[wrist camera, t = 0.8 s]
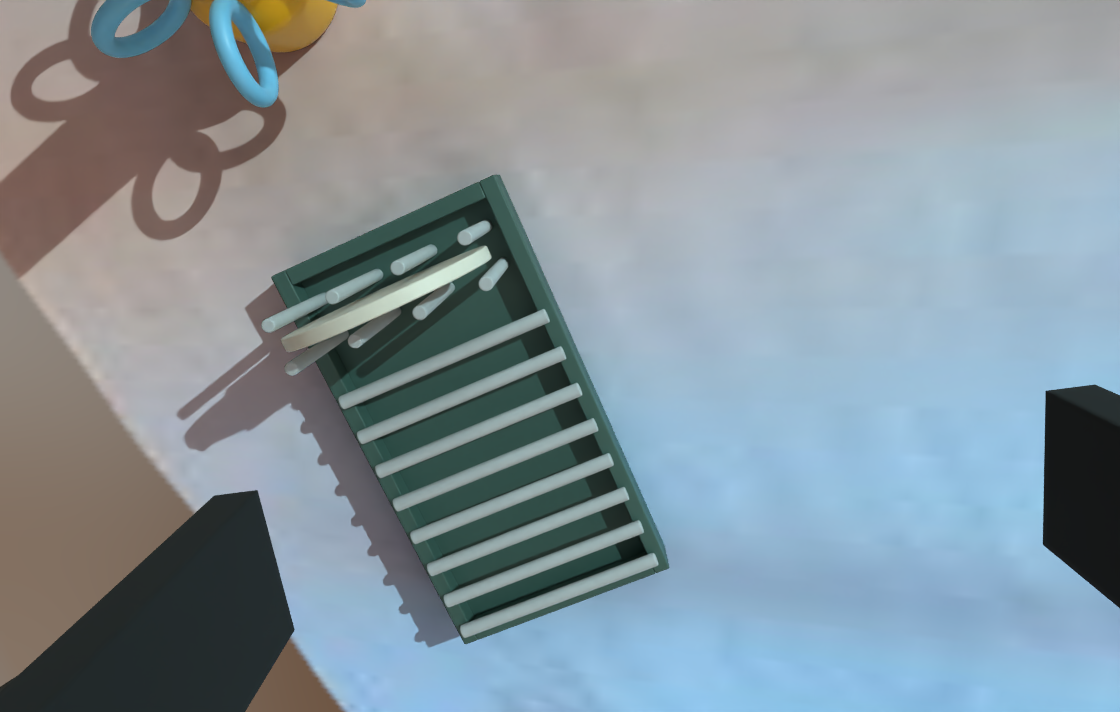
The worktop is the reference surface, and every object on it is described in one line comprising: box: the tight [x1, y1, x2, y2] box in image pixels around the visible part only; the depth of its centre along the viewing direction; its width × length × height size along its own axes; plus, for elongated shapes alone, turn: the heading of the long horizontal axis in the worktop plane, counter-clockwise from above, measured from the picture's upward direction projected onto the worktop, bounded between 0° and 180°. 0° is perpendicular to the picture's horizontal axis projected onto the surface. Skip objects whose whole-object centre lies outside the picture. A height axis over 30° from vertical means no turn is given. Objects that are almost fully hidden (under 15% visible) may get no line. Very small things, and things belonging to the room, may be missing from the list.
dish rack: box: [261, 175, 669, 644], centre depth 35 cm, size 22×12×11 cm, turn 24°
